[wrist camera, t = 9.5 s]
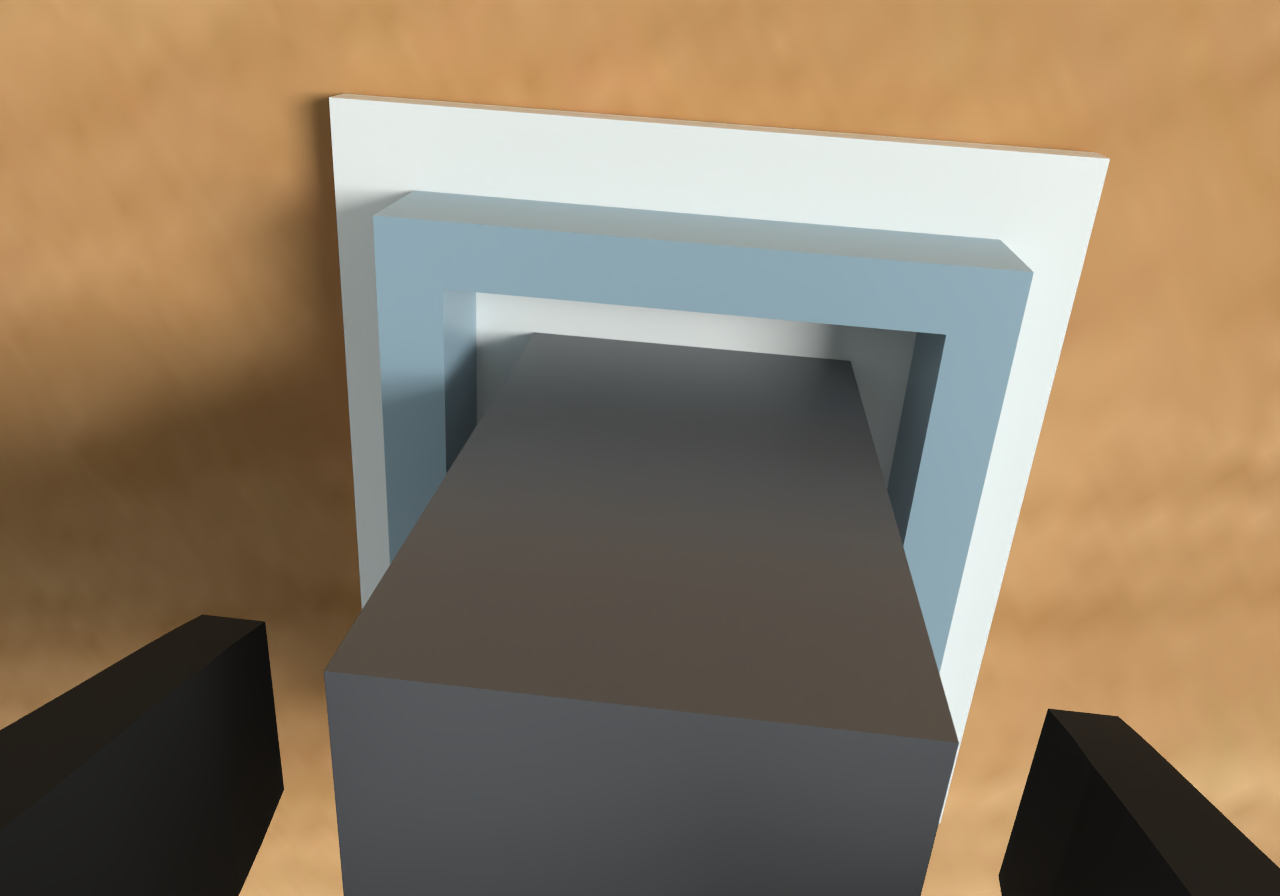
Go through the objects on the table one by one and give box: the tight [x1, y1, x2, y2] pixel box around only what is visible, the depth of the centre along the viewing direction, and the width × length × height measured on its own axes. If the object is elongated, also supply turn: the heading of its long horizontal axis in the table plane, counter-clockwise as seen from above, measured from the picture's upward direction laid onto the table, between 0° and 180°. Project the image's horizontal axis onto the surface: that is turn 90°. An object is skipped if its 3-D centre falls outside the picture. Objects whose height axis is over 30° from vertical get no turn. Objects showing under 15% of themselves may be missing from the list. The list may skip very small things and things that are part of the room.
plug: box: [324, 332, 959, 896], centre depth 10 cm, size 4×5×7 cm
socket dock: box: [329, 93, 1110, 823], centre depth 13 cm, size 9×10×2 cm
